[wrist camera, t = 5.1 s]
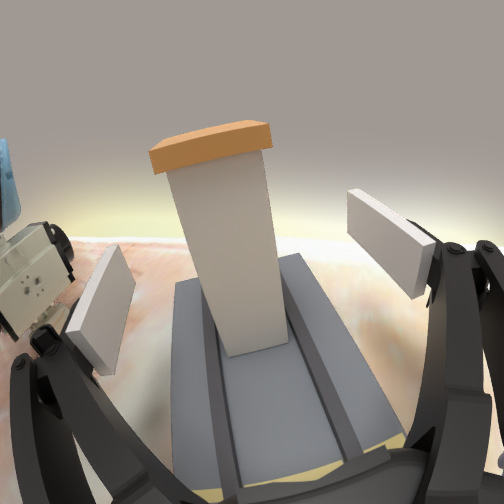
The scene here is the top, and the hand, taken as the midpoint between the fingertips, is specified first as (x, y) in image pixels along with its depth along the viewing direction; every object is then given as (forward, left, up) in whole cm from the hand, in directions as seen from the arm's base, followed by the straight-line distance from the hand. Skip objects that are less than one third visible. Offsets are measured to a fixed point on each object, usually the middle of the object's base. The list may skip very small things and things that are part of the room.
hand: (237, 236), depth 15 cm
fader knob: (0, 0, -7) cm, 7 cm away
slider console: (+4, -3, -8) cm, 10 cm away
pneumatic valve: (-13, -15, -9) cm, 21 cm away
